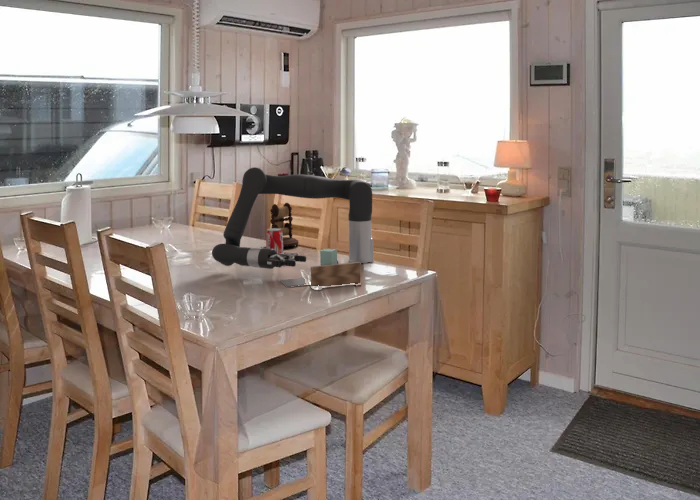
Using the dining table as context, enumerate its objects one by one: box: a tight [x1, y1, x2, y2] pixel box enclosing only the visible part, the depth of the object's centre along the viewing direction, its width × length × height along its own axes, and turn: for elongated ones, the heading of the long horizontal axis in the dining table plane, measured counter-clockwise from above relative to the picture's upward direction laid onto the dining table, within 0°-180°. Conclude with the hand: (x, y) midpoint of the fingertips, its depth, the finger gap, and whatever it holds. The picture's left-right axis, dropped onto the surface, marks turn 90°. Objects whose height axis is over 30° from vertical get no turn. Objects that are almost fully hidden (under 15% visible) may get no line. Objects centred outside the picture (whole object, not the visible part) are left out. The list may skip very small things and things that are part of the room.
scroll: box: [269, 202, 300, 248], centre depth 329 cm, size 15×15×20 cm
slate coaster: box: [279, 277, 306, 288], centre depth 262 cm, size 10×10×1 cm
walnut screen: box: [310, 262, 362, 286], centre depth 255 cm, size 18×5×8 cm, turn 112°
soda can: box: [265, 228, 284, 255], centre depth 307 cm, size 7×7×12 cm
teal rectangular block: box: [319, 248, 338, 266], centre depth 261 cm, size 5×4×12 cm
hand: (300, 261), depth 265 cm, fingers open, 8 cm apart
